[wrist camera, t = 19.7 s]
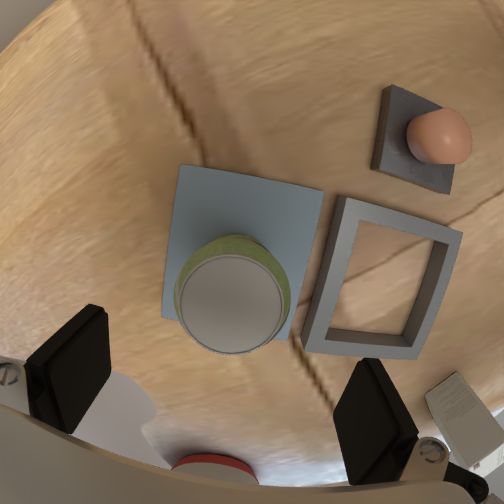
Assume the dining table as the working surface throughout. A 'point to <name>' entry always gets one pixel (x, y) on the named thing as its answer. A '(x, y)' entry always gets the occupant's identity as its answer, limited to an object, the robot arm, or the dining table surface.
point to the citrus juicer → (216, 468)
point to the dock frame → (333, 272)
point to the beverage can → (232, 295)
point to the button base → (396, 146)
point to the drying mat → (241, 223)
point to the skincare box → (466, 425)
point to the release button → (440, 137)
